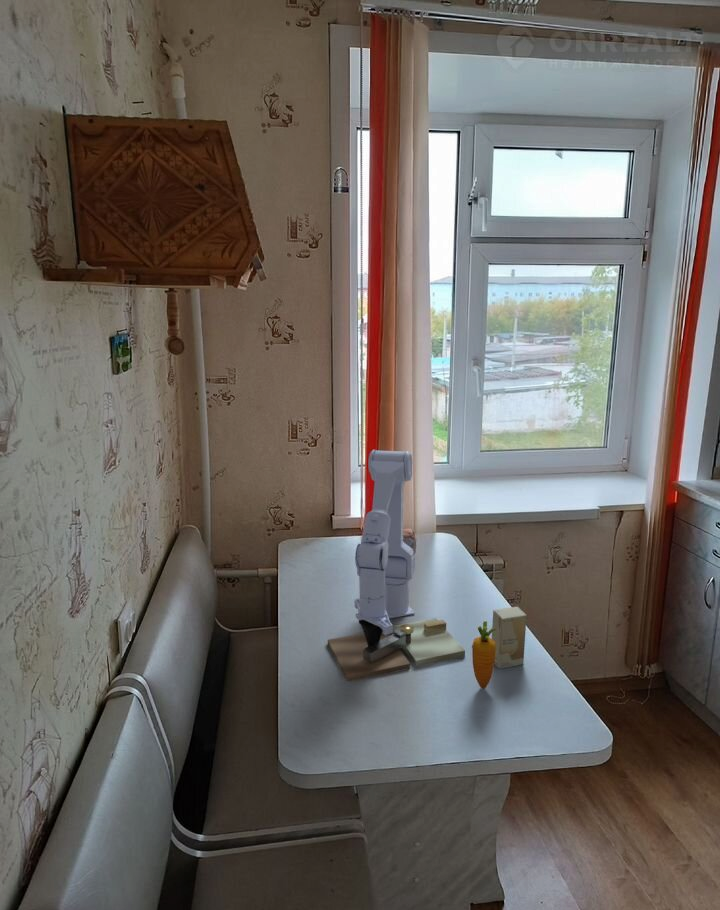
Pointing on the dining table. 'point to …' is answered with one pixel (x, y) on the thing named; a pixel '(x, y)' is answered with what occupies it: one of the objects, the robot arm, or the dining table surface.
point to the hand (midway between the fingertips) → (373, 648)
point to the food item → (409, 538)
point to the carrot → (483, 656)
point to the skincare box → (509, 636)
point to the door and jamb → (421, 648)
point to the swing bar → (387, 644)
